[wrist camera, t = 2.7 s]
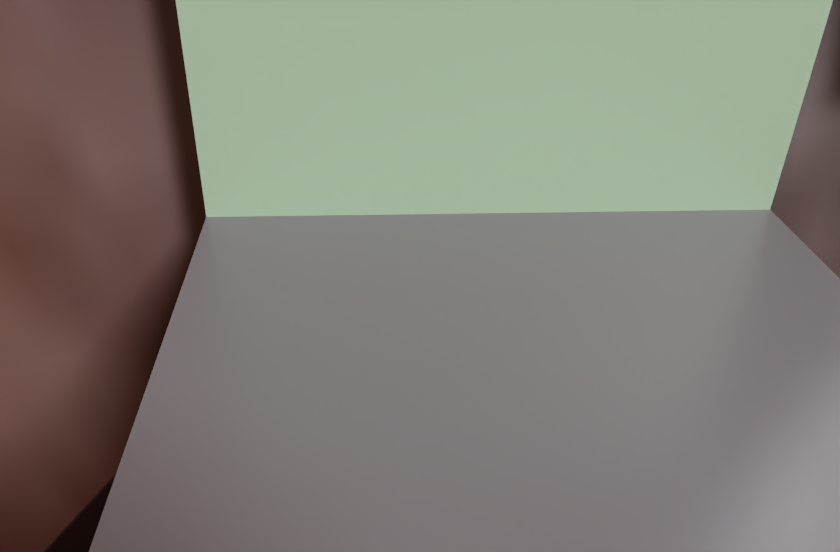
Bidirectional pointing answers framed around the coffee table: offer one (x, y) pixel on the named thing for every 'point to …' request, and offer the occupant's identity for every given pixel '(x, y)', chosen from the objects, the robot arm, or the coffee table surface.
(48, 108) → the coffee table surface
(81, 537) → the robot arm
